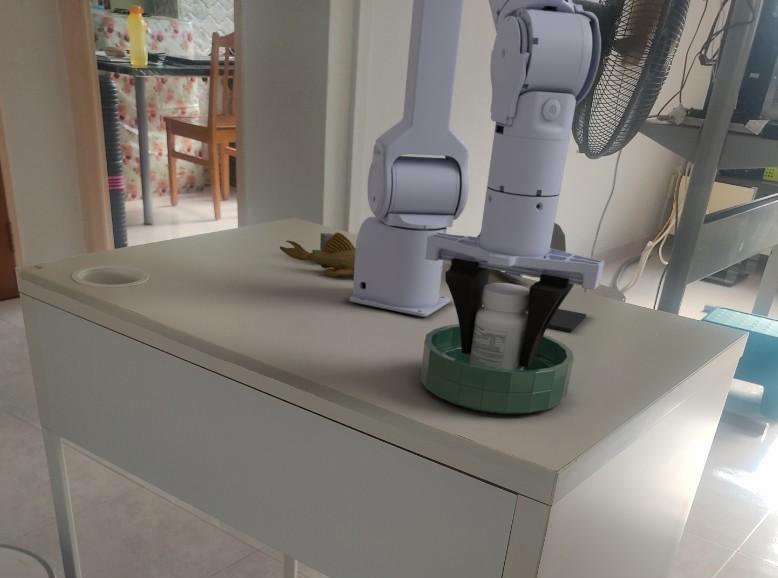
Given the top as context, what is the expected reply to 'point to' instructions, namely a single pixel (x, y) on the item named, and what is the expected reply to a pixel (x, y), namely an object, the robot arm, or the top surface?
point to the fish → (328, 255)
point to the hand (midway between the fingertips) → (496, 357)
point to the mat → (566, 320)
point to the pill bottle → (500, 327)
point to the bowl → (495, 376)
